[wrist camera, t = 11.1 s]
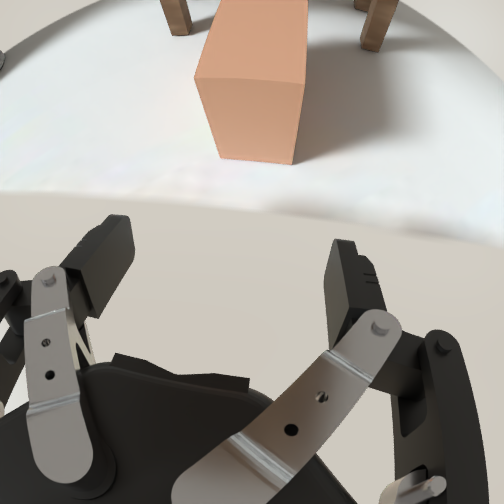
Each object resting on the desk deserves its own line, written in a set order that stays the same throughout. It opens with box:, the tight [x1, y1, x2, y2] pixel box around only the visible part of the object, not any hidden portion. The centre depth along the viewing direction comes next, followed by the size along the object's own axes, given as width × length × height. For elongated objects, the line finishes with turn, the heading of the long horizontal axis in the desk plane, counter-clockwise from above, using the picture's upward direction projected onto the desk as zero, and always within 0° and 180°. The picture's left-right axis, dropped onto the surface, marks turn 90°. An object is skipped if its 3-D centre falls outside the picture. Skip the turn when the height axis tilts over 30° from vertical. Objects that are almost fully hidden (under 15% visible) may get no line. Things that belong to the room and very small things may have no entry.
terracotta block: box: [194, 0, 308, 165], centre depth 15 cm, size 4×9×8 cm, turn 173°
